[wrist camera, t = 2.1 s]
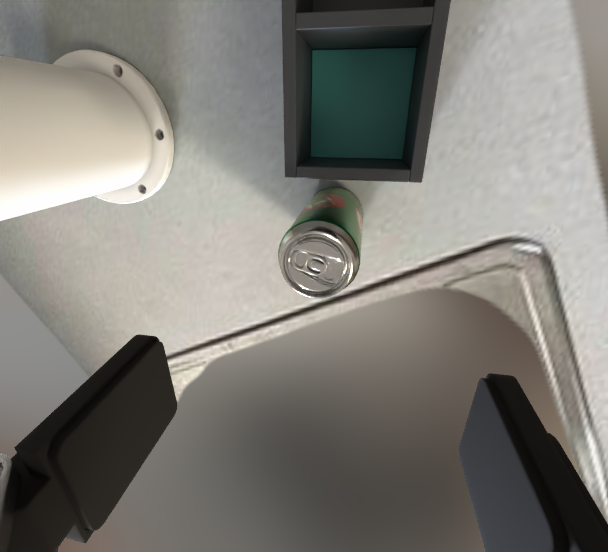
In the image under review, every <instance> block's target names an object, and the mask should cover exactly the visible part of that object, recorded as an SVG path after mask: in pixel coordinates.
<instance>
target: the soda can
mask: <svg viewBox="0 0 608 552" xmlns="http://www.w3.org/2000/svg"><path fill="white" fill-rule="evenodd" d="M362 226H363V209H362V206H361V203H360V201H359V200H358V199H357V197H356V196H355V195H354V194H353V193H351V192H350V191H348V190H346V189H343V188H339V187H330V188H326V189H323V190H321V191H320V192H318V193H317V194H316V195H315V196H314V197H313V198H312V199H311V200H310V202H309V203H308V204H307V206H306V207H305V208H304V210H303V211H302V212H301V214H300V215H299V216H298V218H297V219H296V220H295V222H294V223H293V224H292V226H291V227H290V228H289V230H288V231H287V232H286V234H285V235H284V237H283V238H282V241H281V243H280V246H279V252H278V258H279V264H280V268H281V271H282V274H283V277H284V279H285V280H286V282H287V283H288V284H289V286H290V287H291V288H293V289H294V290H295V291H297V292H298V293H300V294H302V295H304V296H307V297H311V298H326V297H330V296H333V295H335V294H337V293H338V292H340V291H341V290H343V289H344V288H346V287H347V286H348V285H349V284H350V283H351V282H352V281H353V280H354V278H355V276H356V275H357V272H358V270H359V265H360V255H361V240H362Z"/></svg>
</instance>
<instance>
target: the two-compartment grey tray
mask: <svg viewBox="0 0 608 552" xmlns="http://www.w3.org/2000/svg"><path fill="white" fill-rule="evenodd" d="M450 2H451V0H282V36H283V91H284V146H285V178H309V179H337V180H365V181H393V182H419V183H421V182H422V178H423V172H424V165H425V159H426V153H427V146H428V140H429V134H430V128H431V121H432V115H433V109H434V102H435V96H436V90H437V84H438V77H439V71H440V65H441V58H442V52H443V46H444V40H445V33H446V27H447V21H448V14H449V8H450Z"/></svg>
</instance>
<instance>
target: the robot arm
mask: <svg viewBox="0 0 608 552" xmlns="http://www.w3.org/2000/svg"><path fill="white" fill-rule="evenodd" d="M163 134H164V136H163ZM173 159H174V139H173V130H172V127H171V123H170V119H169V116H168V114H167V111H166V109H165V107H164V104H163V102H162V100H161V99H160V97H159V95H158V94H157V92H156V91H155V89H154V87H153V86H152V85H151V84H150V83H149V82H148V80H147V79H146V78H145V77H144V76H143V75H142V74H141V73H140V72H139V71H138V70H136V69H135V68H134V67H133V66H132V65H131V64H129V63H127V62H125V61H124V60H122V59H120V58H119V57H116V56H113V55H110V54H107V53H104V52H100V51H95V50H76V51H73V52H70V53H66V54H65V55H63V56H62V57H60V58H59V59H57V60H56V61H55V62H54V64H53V65H52V64H47V63H41V62H35V61H30V60H24V59H19V58H13V57H7V56H2V55H0V221H2V220H5V219H9V218H13V217H17V216H20V215H24V214H28V213H31V212H35V211H39V210H42V209H46V208H50V207H54V206H57V205H61V204H65V203H68V202H72V201H76V200H79V199H83V198H87V197H90V196H96V197H97V198H100V199H103V200H105V201H108V202H113V203H119V204H124V203H133V202H137V201H140V200H143V199H145V198H148V197H150V196H152V195H153V194H154V193H156V192H157V191H158V190H159V189H160V188H161V187H162V185H163V184H164V183H165V182H166V180H167V177H168V175H169V173H170V171H171V167H172V163H173ZM176 410H177V401H176V397H175V393H174V388H173V384H172V380H171V376H170V371H169V367H168V363H167V359H166V354H165V350H164V346H163V343H162V342H159V339H158V338H157V337H155V336H147V335H136V336H134V337H133V338H132V339H131V340H130V341H129V342H128V343H127V344H126V345H124V346H123V347H122V348H121V349H120V350H119V351H118V352H117V353H116V354H115V355H114V356H113V357H112V358H110V359H109V360H108V361H107V362H106V363H105V364H104V365H103V366H102V367H101V368H100V369H99V370H98V371H96V372H95V373H94V374H93V375H92V376H91V377H90V378H89V379H88V380H87V381H86V382H85V383H84V384H82V385H81V386H80V387H79V388H78V389H77V390H76V391H75V392H74V393H73V394H72V395H71V396H70V397H68V398H67V399H66V400H65V401H64V402H63V403H62V404H61V405H60V406H59V407H58V408H57V409H56V410H54V412H52V413H51V414H50V415H49V416H48V417H47V418H46V419H45V420H44V421H43V422H42V423H41V424H40V425H38V426H37V427H36V428H35V429H34V430H33V431H32V432H31V433H30V434H29V435H28V436H27V437H25V438H24V439H23V440H22V441H21V442H20V443H19V444H18V445H17V446H16V447H15V450H16V451H17V454H16V455H15V456H13V457H12V458H11V459H10V458H9V456H8V455H6V454H2V453H0V552H58V547H59V545H60V544H61V543H62V541H63V539H64V538H65V537H66V538H67V539H70V540H74V541H78V542H83V543H86V542H87V541H88V539H89V538H90V536H91V534H92V533H93V532H94V530H97V529H99V528H100V527H101V526H102V525H103V524H104V522H105V521H106V519H107V518H108V516H109V515H110V513H111V512H112V510H113V509H114V507H115V506H116V504H117V503H118V501H119V500H120V498H121V497H122V495H123V493H124V492H125V490H126V489H127V487H128V486H129V484H130V482H131V481H132V480H133V478H134V477H135V475H136V474H137V472H138V470H139V469H140V467H141V465H142V464H143V463H144V461H145V459H146V458H147V456H148V455H149V454H150V452H151V451H152V449H153V447H154V446H155V444H156V443H157V441H158V440H159V438H160V437H161V435H162V434H163V432H164V431H165V429H166V427H167V426H168V424H169V423H170V421H171V420H172V418H173V417H174V415H175V413H176ZM459 454H460V460H461V463H462V467H463V470H464V474H465V478H466V481H467V485H468V489H469V492H470V496H471V500H472V503H473V507H474V511H475V514H476V518H477V522H478V525H479V529H480V532H481V536H482V540H483V543H484V547H485V550H486V552H608V524H607V522H606V521H605V519H604V517H603V515H602V514H601V512H600V510H599V509H598V507H597V505H596V504H595V502H594V500H593V499H592V497H591V495H590V494H589V492H588V490H587V489H586V487H585V485H584V484H583V482H582V480H581V479H580V477H579V475H578V473H577V472H576V470H575V469H574V467H573V465H572V463H571V462H570V460H569V458H568V457H567V455H566V454H565V452H564V450H563V448H562V447H561V445H560V443H559V442H558V441H557V439H556V438H555V437H554V436H552V435H551V434H549V433H547V431H546V430H545V428H544V426H543V424H542V423H541V421H540V419H539V417H538V416H537V414H536V412H535V411H534V409H533V407H532V405H531V404H530V402H529V400H528V398H527V397H526V395H525V393H524V392H523V390H522V388H521V386H520V384H519V383H518V382H517V380H516V378H515V377H513V376H509V375H500V374H488V375H487V377H486V378H481V379H480V380H479V382H478V386H477V389H476V392H475V396H474V399H473V402H472V406H471V409H470V412H469V416H468V419H467V422H466V425H465V429H464V432H463V435H462V439H461V442H460V446H459Z"/></svg>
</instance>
